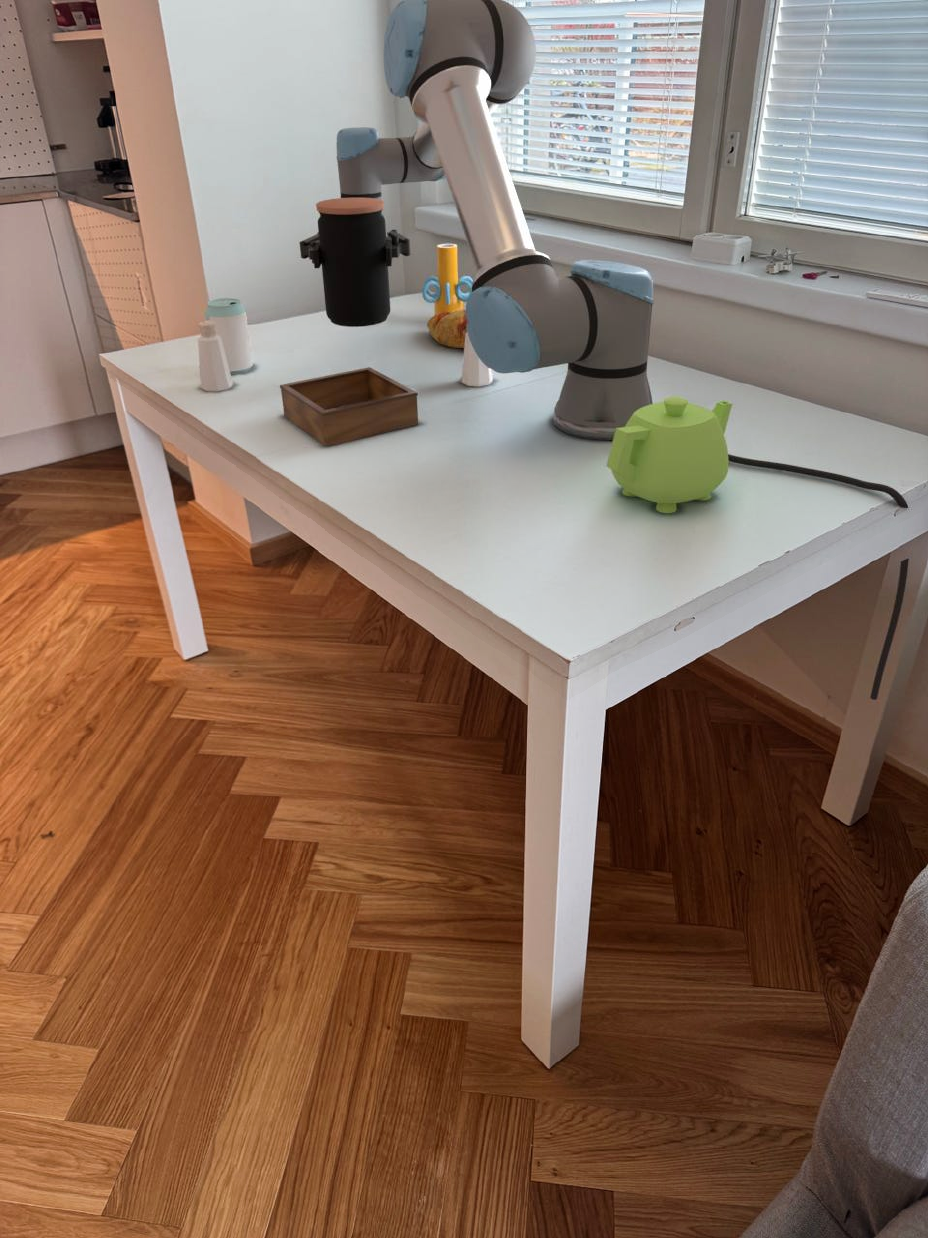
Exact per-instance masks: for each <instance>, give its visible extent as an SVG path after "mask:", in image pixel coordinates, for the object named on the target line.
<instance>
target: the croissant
mask: <svg viewBox="0 0 928 1238" xmlns="http://www.w3.org/2000/svg"><path fill="white" fill-rule="evenodd" d="M465 309H466V308H463V309H461V310H456V311H454V312H443V313H440V314H438V315H435V314H434V315H433V316H432V317H430V318H429V320H428V322H427V324H426V325H427V329H428V332H429V334H430V336H431V337H432V339H434V340H435V341H436V343H437V344H441V345H444V346H447V347H449V348H455V349H458V348H460V349H464V346H465V335H466V333H467V327H466V324H467V323H468V321H467V319H466V317H465Z"/></svg>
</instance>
